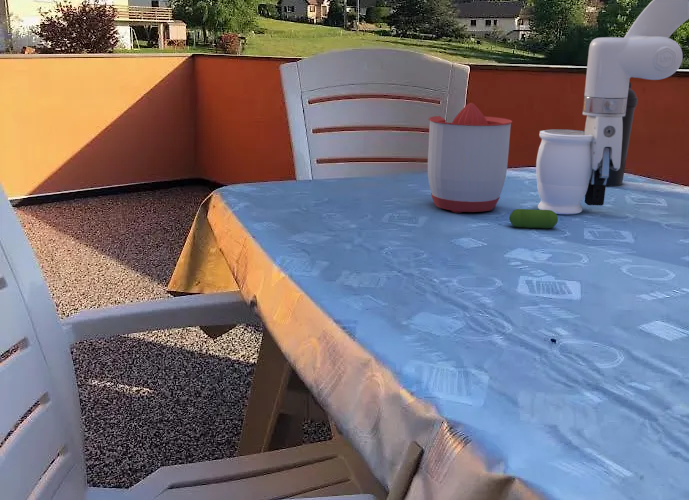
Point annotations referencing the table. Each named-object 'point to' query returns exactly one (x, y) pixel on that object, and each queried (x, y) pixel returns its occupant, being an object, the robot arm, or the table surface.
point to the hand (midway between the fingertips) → (593, 204)
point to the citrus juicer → (468, 160)
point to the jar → (563, 170)
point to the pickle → (533, 218)
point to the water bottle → (624, 140)
